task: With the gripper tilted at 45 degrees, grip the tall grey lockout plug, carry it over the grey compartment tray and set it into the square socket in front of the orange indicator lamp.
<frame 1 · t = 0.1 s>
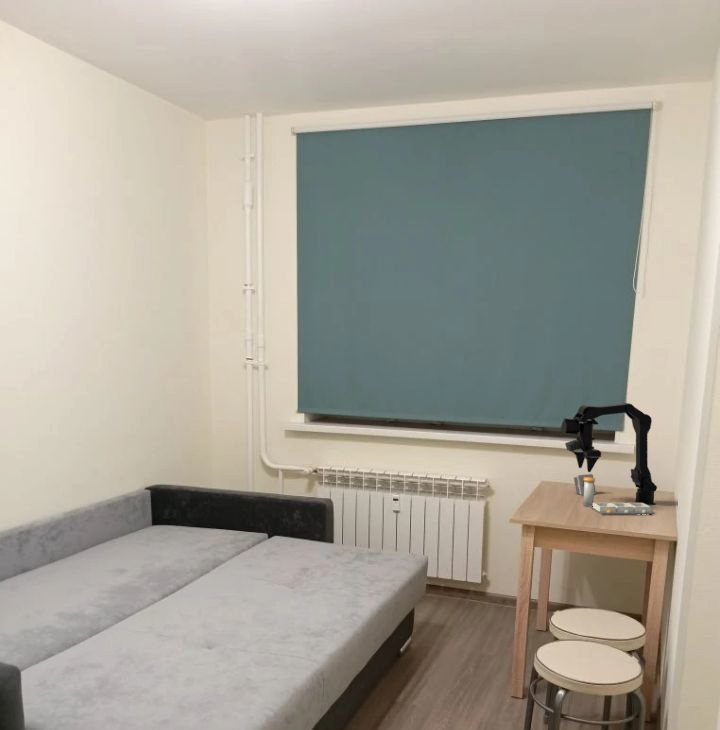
hand: (584, 469, 289), 15 cm above the table, tool pointing down, fingers open, 9 cm apart
grey compartment tray: (622, 512, 276), on the table
lockout plug: (588, 505, 285), on the table
electrical switch: (584, 494, 308), on the table
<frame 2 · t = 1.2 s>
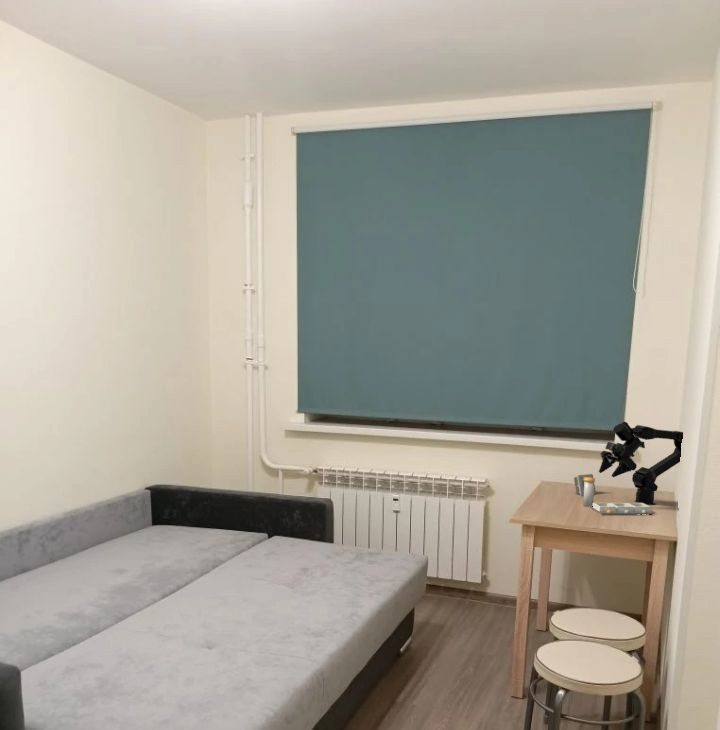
hand: (605, 474, 287), 13 cm above the table, tool tilted 45°, fingers open, 9 cm apart
nothing on the table moved.
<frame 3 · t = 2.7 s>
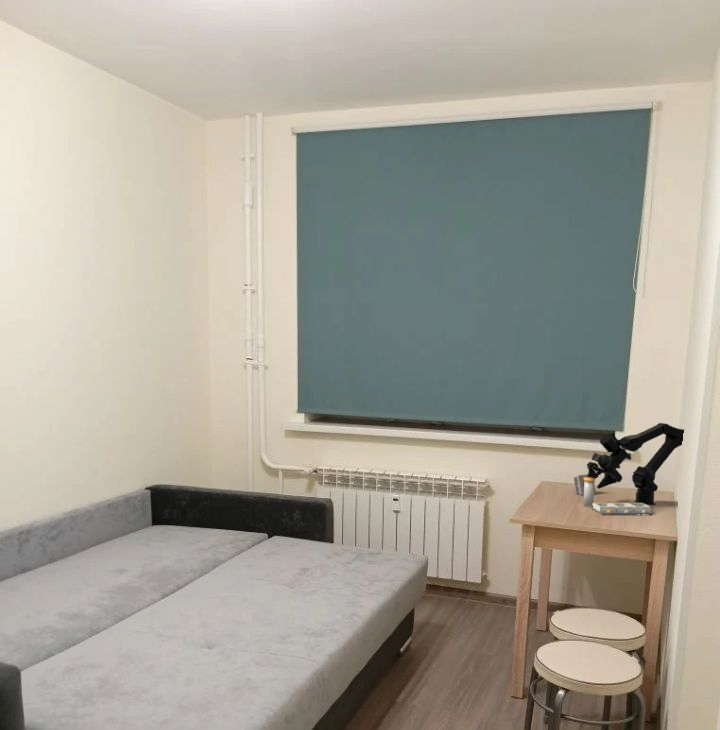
hand: (591, 485, 285), 9 cm above the table, tool tilted 45°, fingers open, 9 cm apart
nothing on the table moved.
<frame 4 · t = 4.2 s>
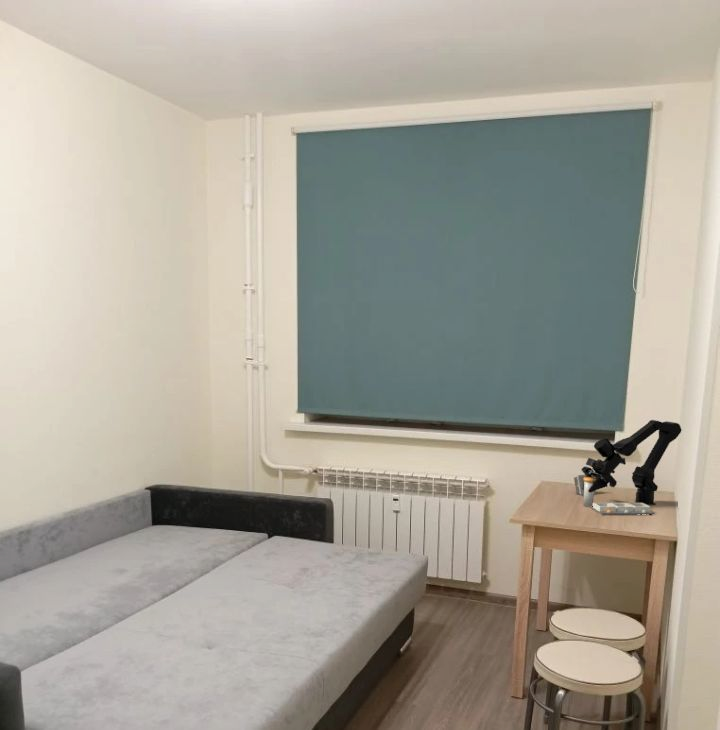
hand: (585, 490, 285), 7 cm above the table, tool tilted 45°, fingers closed on lockout plug, 4 cm apart
lockout plug: (588, 505, 285), on the table, touching gripper
everything else where it was.
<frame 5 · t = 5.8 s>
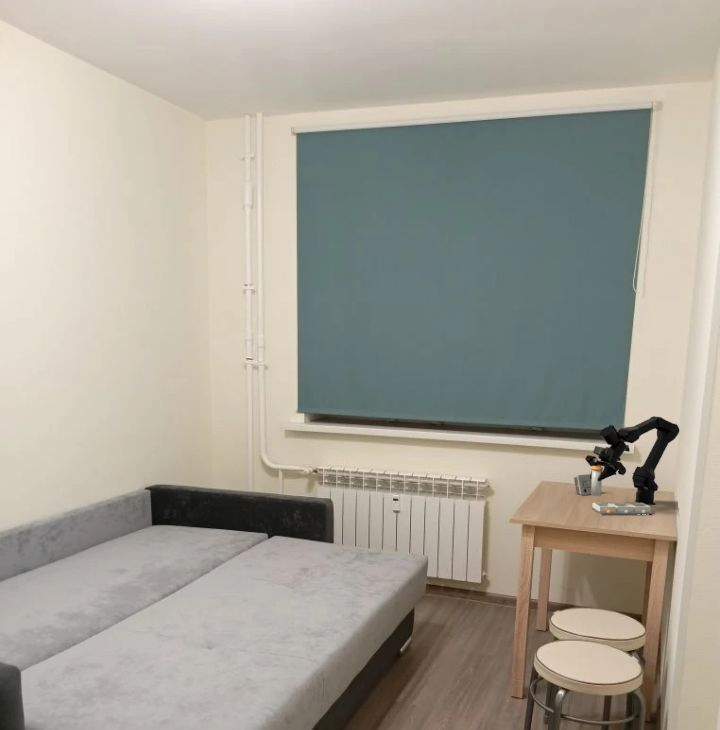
hand: (594, 479, 279), 13 cm above the table, tool tilted 45°, fingers closed on lockout plug, 4 cm apart
lockout plug: (596, 494, 280), point 6 cm above the table, touching gripper
everything else where it was.
when the fingers open (8 cm above the table, at t = 7.5 s): lockout plug stays where it is, resting on grey compartment tray.
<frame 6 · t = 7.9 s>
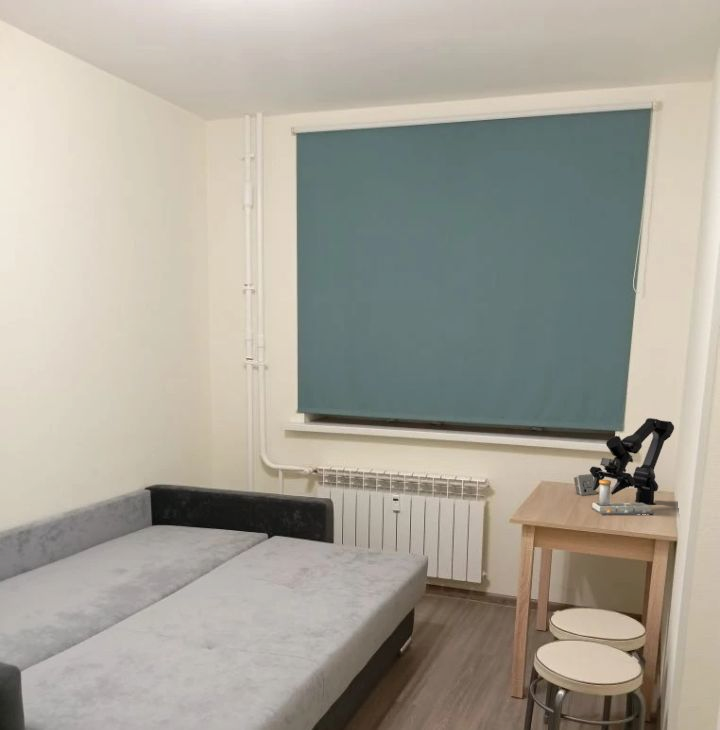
hand: (602, 491, 275), 8 cm above the table, tool tilted 45°, fingers open, 8 cm apart
lockout plug: (604, 509, 276), point 1 cm above the table, touching grey compartment tray
everything else where it was.
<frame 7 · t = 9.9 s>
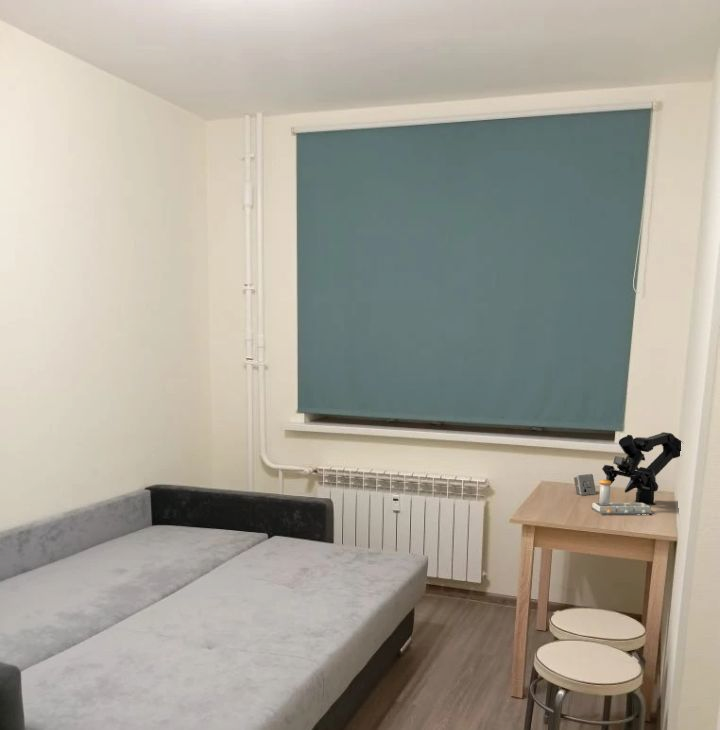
hand: (615, 489, 280), 8 cm above the table, tool tilted 45°, fingers open, 9 cm apart
nothing on the table moved.
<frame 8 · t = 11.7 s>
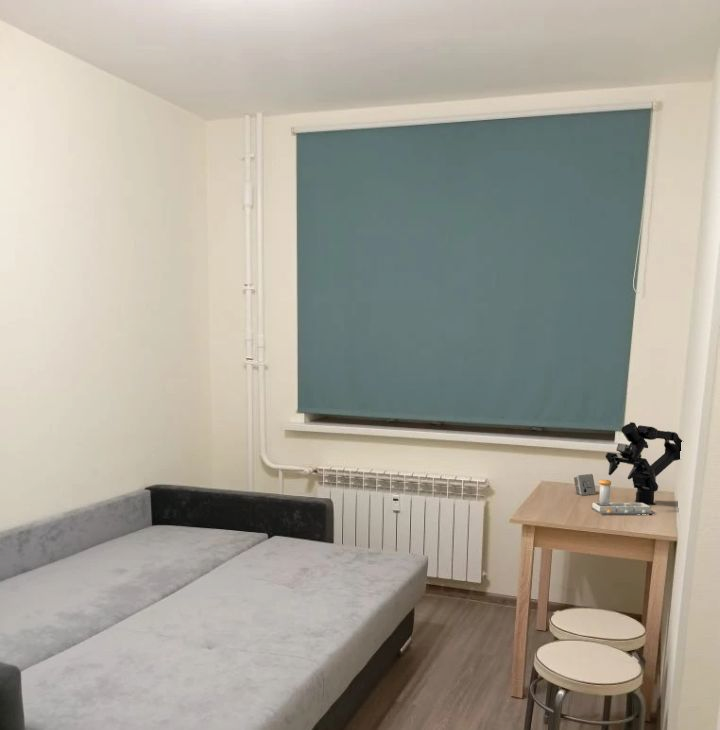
hand: (618, 476, 281), 14 cm above the table, tool tilted 45°, fingers open, 9 cm apart
nothing on the table moved.
at the end: lockout plug 0.0 cm from the target spot on the grey compartment tray, point 0.8 cm above the grey compartment tray's base; lockout plug tilted 1°; the gripper is holding nothing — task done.
